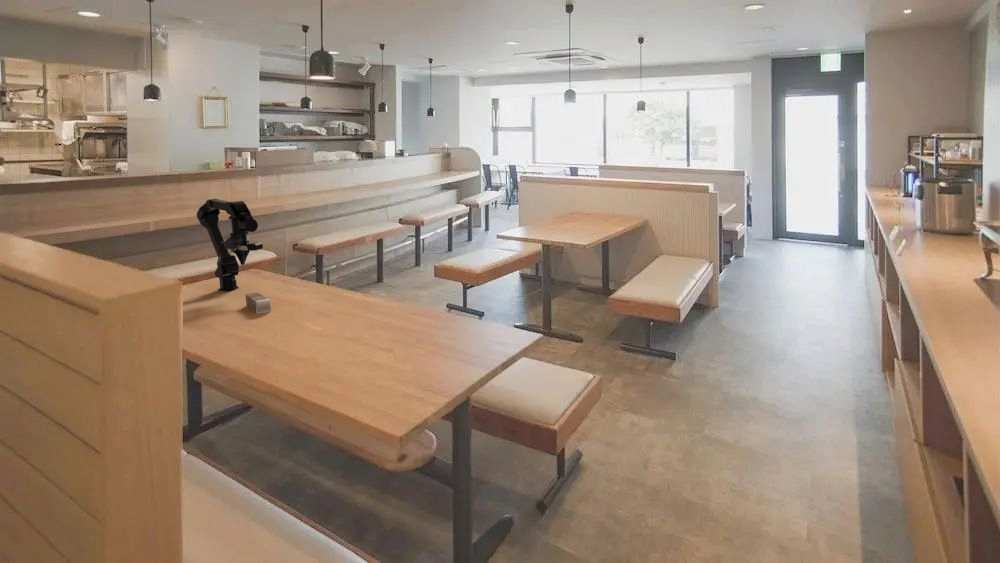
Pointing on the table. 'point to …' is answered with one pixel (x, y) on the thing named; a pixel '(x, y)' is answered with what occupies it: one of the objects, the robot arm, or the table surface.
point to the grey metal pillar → (258, 303)
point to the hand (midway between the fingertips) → (242, 264)
